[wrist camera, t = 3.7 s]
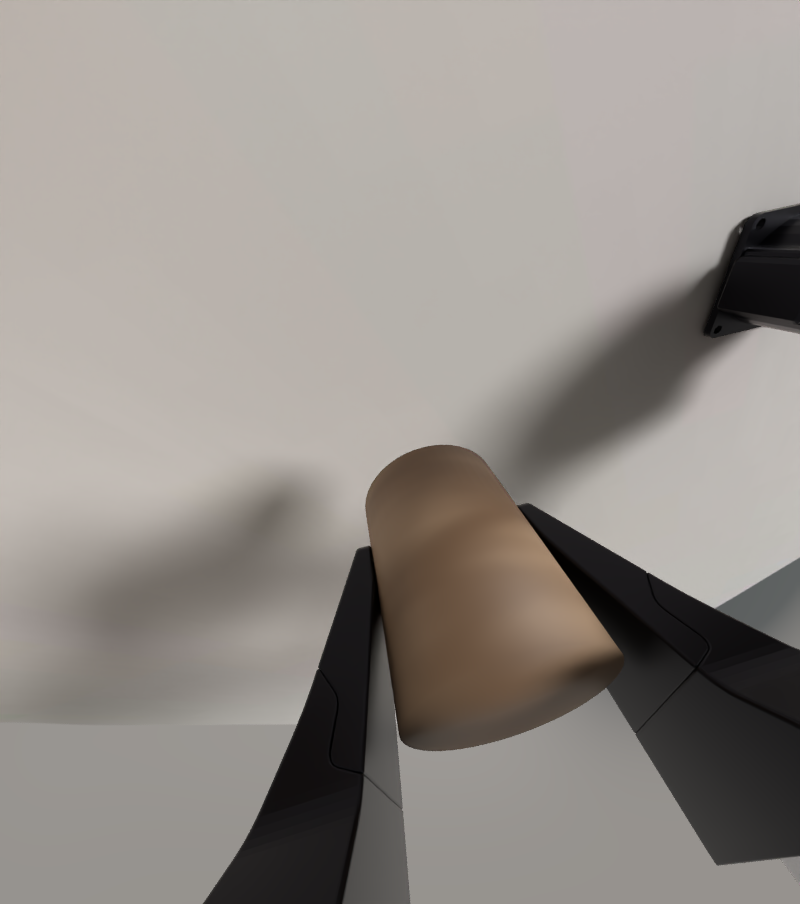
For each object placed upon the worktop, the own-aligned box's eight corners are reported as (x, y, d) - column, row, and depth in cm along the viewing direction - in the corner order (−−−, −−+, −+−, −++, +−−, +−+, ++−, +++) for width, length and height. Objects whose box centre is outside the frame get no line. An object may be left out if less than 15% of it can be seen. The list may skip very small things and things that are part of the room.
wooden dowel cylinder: (493, 429, 10) (655, 613, 5) (492, 526, 13) (598, 709, 8) (350, 465, 10) (376, 698, 5) (380, 557, 12) (416, 766, 7)
